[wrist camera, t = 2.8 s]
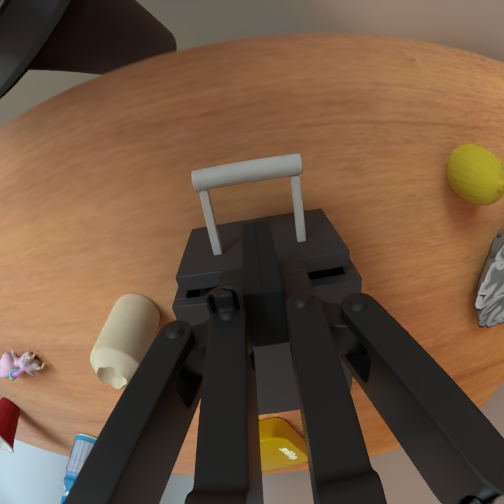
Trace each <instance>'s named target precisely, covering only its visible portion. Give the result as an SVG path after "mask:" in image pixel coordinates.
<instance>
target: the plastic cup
mask: <svg viewBox="0 0 504 504" xmlns="http://www.w3.org/2000/svg"><path fill="white" fill-rule="evenodd" d="M19 415H20V410H19V408H18V407H17V406H16V405H15V404H14V403H13V402H11V401H10V400H8V399H6V398H2V399H1V400H0V447H1V448H2V449H4V450H6V451H8V452H10V453H13V451H14V450H13V444H14V438H15V433H16V429H17V424H18V419H19Z"/></svg>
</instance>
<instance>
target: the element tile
mask: <svg viewBox="0 0 504 504" xmlns="http://www.w3.org/2000/svg"><path fill="white" fill-rule="evenodd" d="M259 434H260V452H261V469H262V472H263V471H269V470H274V469H278V468H283V467H287V466H292V465H296V464H300V463H304V462H306V461H308V458H307V451H306V444H305V439H304V438H302V437H301V436H300V435H299V434H298V433H297V432H296V431H295V430H294V429H293V428H292V427H291V426H290V425H289V424H288V423H287V422H286V421H285V420H284V419H281V418H269V419H265V420H261V421H259Z"/></svg>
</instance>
